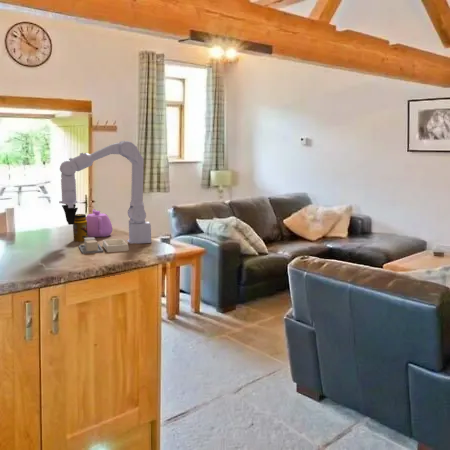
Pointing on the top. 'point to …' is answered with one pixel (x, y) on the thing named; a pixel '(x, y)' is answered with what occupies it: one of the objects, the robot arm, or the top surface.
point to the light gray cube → (88, 240)
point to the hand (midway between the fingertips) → (70, 223)
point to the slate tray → (90, 251)
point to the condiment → (80, 228)
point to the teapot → (98, 224)
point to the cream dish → (115, 245)
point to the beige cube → (91, 245)
